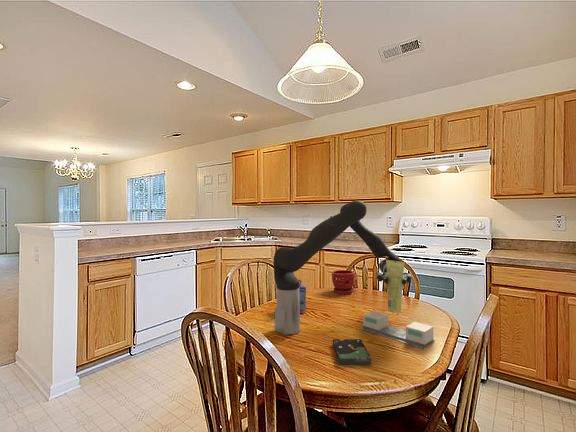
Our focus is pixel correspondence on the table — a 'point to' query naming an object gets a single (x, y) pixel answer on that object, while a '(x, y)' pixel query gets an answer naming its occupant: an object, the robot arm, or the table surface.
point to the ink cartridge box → (302, 298)
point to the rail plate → (396, 335)
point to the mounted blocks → (413, 330)
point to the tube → (395, 285)
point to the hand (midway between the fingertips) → (395, 281)
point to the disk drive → (351, 352)
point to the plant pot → (343, 281)
